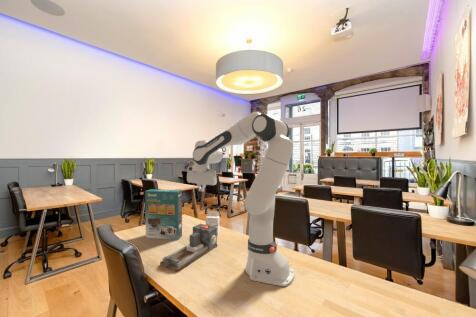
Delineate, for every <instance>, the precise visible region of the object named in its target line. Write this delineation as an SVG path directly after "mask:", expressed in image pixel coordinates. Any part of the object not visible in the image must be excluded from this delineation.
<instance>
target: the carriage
mask: <svg viewBox="0 0 476 317" xmlns="http://www.w3.org/2000/svg"><path fill="white" fill-rule="evenodd" d="M202 248H203V244H200V233H196V232H195V233H193V232H192V234H189V244H187V245H186V250H187V251H190V252H194V253H195V252H197V251H199V250H200V249H202Z"/></svg>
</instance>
